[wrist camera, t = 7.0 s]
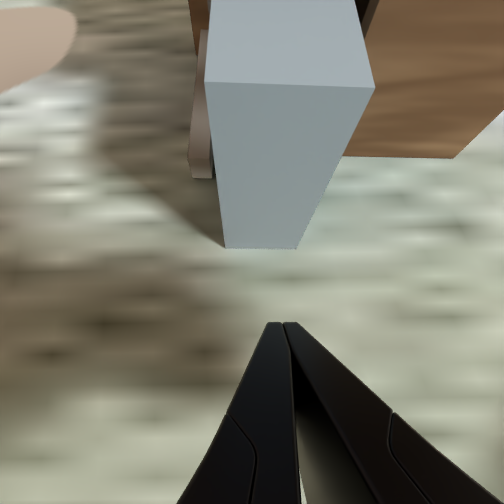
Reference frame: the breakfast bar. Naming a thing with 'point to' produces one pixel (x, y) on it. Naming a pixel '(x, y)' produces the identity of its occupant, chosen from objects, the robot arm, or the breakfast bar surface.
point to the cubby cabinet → (402, 78)
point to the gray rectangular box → (281, 110)
